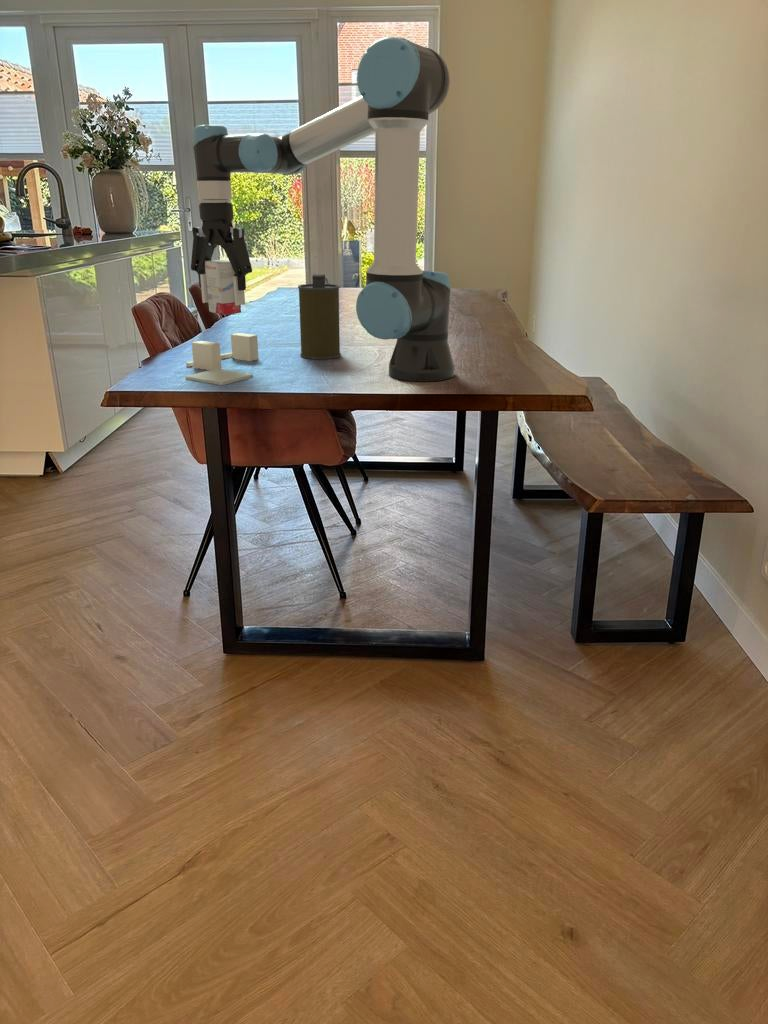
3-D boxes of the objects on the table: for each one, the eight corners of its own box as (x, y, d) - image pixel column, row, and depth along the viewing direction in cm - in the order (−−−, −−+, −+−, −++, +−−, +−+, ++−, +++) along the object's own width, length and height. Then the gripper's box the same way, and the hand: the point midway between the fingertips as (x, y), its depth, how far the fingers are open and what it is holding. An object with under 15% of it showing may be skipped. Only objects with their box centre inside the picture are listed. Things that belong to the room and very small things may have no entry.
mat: (252, 376, 173) (252, 374, 173) (222, 385, 165) (222, 382, 165) (216, 371, 178) (216, 368, 178) (185, 379, 170) (185, 376, 170)
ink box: (241, 314, 180) (238, 261, 175) (221, 315, 177) (217, 262, 173) (227, 310, 186) (223, 259, 182) (207, 311, 184) (203, 260, 179)
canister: (339, 359, 192) (338, 277, 184) (298, 359, 192) (295, 276, 184) (341, 351, 202) (340, 272, 194) (302, 351, 202) (299, 272, 194)
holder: (258, 359, 192) (257, 335, 189) (212, 370, 179) (210, 345, 176) (233, 355, 196) (231, 331, 193) (186, 366, 183) (184, 341, 180)
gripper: (264, 201, 170) (270, 304, 179) (191, 201, 181) (200, 299, 189) (241, 201, 164) (249, 308, 173) (168, 201, 175) (178, 302, 183)
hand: (223, 303), depth 181 cm, fingers closed on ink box, 10 cm apart
